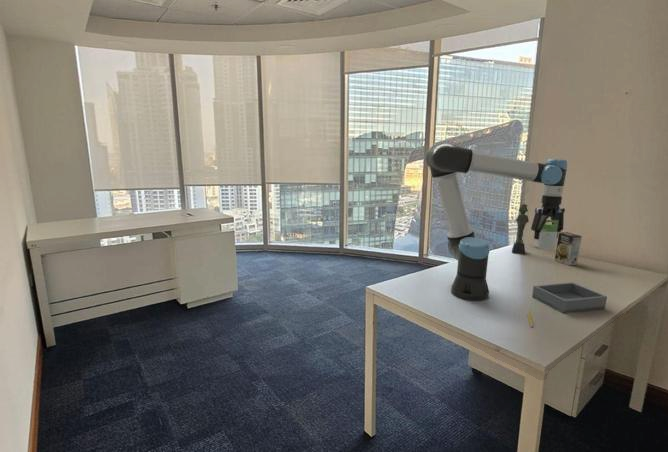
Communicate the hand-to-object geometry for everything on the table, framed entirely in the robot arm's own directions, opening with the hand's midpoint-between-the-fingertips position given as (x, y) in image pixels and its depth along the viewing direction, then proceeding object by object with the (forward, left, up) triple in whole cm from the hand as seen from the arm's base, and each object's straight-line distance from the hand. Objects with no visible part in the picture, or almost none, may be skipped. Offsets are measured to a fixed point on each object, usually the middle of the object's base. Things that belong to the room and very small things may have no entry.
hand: (544, 245), depth 169 cm
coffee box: (+41, +26, -19) cm, 52 cm away
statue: (+30, +49, -19) cm, 60 cm away
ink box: (0, 0, -1) cm, 1 cm away
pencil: (-30, -29, -19) cm, 46 cm away
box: (-4, -19, -19) cm, 27 cm away
